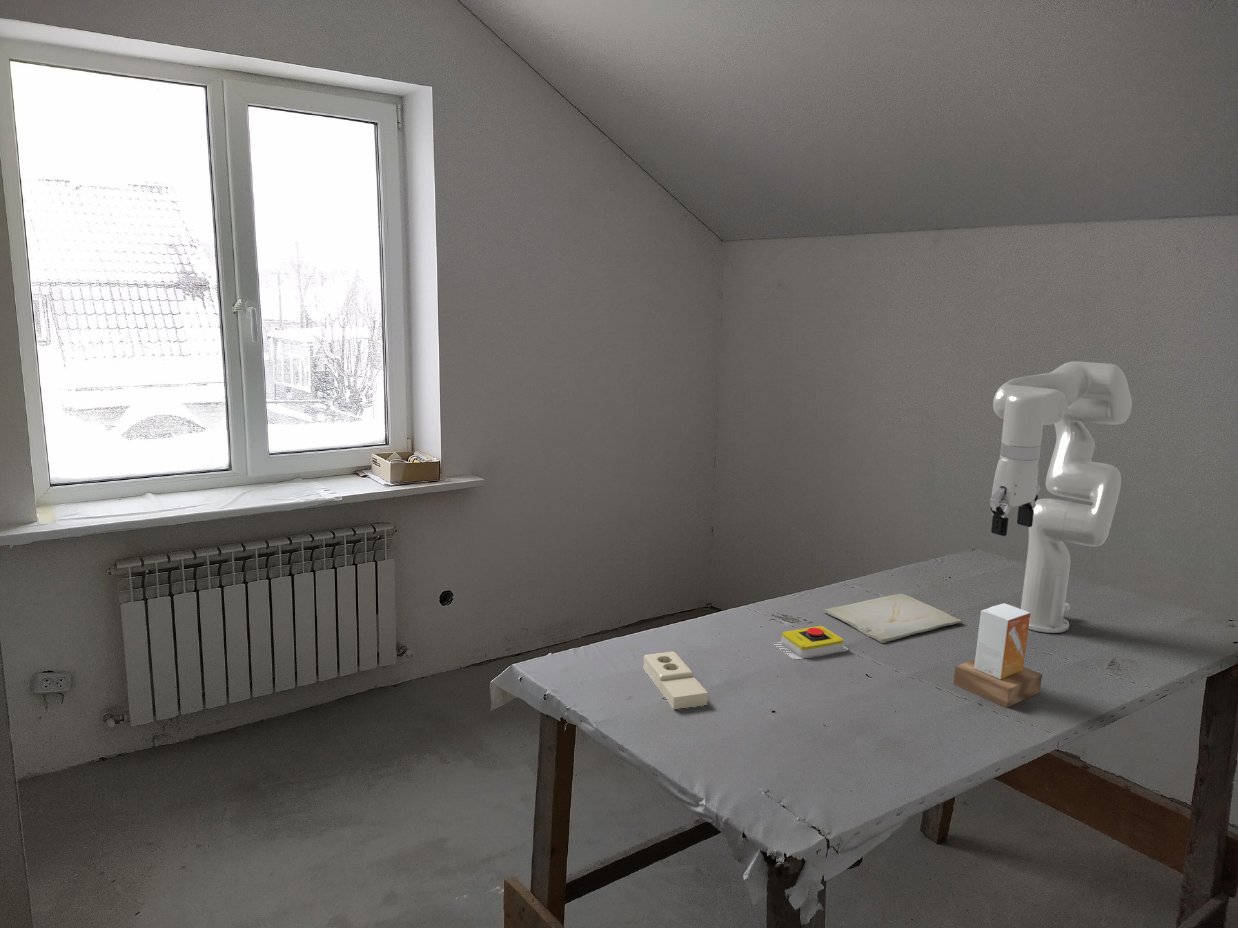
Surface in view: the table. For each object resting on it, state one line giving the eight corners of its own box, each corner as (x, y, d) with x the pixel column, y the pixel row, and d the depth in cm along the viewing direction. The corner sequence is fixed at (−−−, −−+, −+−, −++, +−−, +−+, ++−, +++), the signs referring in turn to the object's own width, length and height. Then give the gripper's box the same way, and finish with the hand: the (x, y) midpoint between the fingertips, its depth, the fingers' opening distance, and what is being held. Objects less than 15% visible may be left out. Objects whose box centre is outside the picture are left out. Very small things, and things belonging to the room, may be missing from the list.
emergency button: (851, 634, 196) (795, 644, 190) (849, 652, 196) (794, 662, 191) (826, 619, 204) (772, 628, 198) (825, 636, 205) (771, 645, 199)
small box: (1001, 680, 174) (1008, 620, 171) (973, 668, 179) (979, 609, 176) (1024, 671, 178) (1031, 612, 176) (996, 659, 184) (1003, 602, 181)
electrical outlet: (673, 692, 167) (643, 654, 184) (673, 712, 168) (642, 671, 185) (707, 688, 170) (674, 650, 186) (707, 707, 170) (674, 667, 187)
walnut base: (986, 669, 188) (988, 652, 187) (1039, 692, 178) (1042, 674, 177) (953, 683, 181) (955, 666, 180) (1006, 707, 171) (1008, 689, 170)
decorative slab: (883, 647, 200) (884, 639, 199) (820, 615, 218) (821, 608, 217) (963, 625, 213) (964, 618, 212) (898, 597, 231) (898, 590, 230)
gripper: (1025, 443, 188) (1017, 517, 192) (979, 454, 178) (972, 533, 182) (1059, 449, 182) (1050, 526, 186) (1013, 461, 172) (1005, 542, 176)
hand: (1011, 529), depth 184 cm, fingers open, 9 cm apart
